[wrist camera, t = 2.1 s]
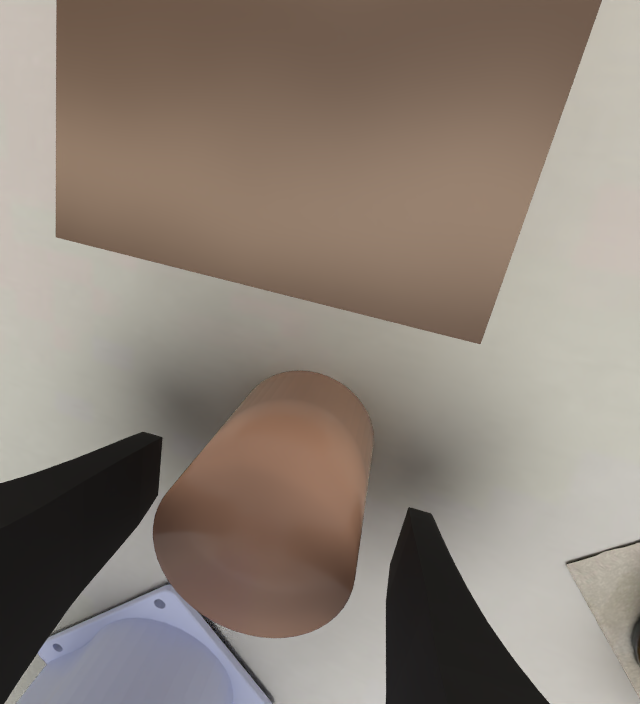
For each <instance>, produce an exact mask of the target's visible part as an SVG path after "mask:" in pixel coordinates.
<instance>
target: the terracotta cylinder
mask: <svg viewBox="0 0 640 704" xmlns="http://www.w3.org/2000/svg"><path fill="white" fill-rule="evenodd" d="M373 446H374V434H373V427H372V423H371V420H370V417H369V415H368V413H367V411H366V409H365V407H364V406H363V404H362V403H361V401H360V400H359V399H358V398H357V397H356V395H355V394H354V393H353V392H352V391H351V390H349V389H348V388H347V387H345V386H344V385H343V384H341V383H340V382H338V381H336V380H334V379H332V378H330V377H328V376H325V375H322V374H319V373H315V372H310V371H289V372H283V373H280V374H277V375H274V376H271V377H269V378H267V379H265V380H264V381H263V382H261V383H260V384H258V385H257V386H256V387H255V388H254V389H253V390H252V391H251V392H250V394H249V395H248V396H247V397H246V398H245V400H244V401H243V402H242V403H241V404H240V406H239V407H238V408H237V409H236V410H235V412H234V413H233V414H232V415H231V416H230V418H229V419H228V420H227V421H226V422H225V424H224V425H223V426H222V427H221V428H220V430H219V431H218V432H217V433H216V434H215V436H214V437H213V438H212V439H211V440H210V442H209V443H208V444H207V445H206V446H205V448H204V449H203V450H202V451H201V452H200V454H199V455H198V456H197V457H196V458H195V460H194V461H193V462H192V463H191V464H190V466H189V467H188V468H187V469H186V470H185V471H184V473H183V474H182V475H181V476H180V477H179V479H178V480H177V481H176V482H175V483H174V485H173V486H172V487H171V488H170V489H169V491H168V492H167V493H166V495H165V496H164V497H163V499H162V501H161V502H160V504H159V506H158V509H157V512H156V515H155V519H154V525H153V541H154V548H155V552H156V556H157V559H158V562H159V564H160V566H161V569H162V571H163V572H164V574H165V576H166V578H167V579H168V581H169V582H170V584H171V585H172V586H173V588H174V589H175V590H176V591H177V593H178V594H179V595H180V596H181V597H182V598H183V599H184V600H185V601H186V602H187V603H188V604H189V605H190V606H192V607H193V608H194V609H195V610H197V611H198V612H199V613H201V614H202V615H204V616H205V617H207V618H209V619H210V620H212V621H213V622H215V623H218V624H220V625H222V626H224V627H226V628H228V629H231V630H234V631H236V632H240V633H243V634H247V635H252V636H257V637H266V638H287V637H293V636H299V635H302V634H306V633H309V632H312V631H314V630H316V629H319V628H320V627H322V626H324V625H325V624H327V623H328V622H330V621H331V620H332V619H333V618H334V617H336V616H337V615H338V613H339V612H340V611H341V610H342V609H343V608H344V606H345V604H346V603H347V601H348V599H349V597H350V595H351V592H352V589H353V585H354V580H355V574H356V567H357V560H358V553H359V546H360V539H361V532H362V525H363V517H364V510H365V503H366V496H367V489H368V482H369V475H370V467H371V460H372V453H373Z"/></svg>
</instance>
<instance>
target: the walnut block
mask: <svg viewBox="0 0 640 704" xmlns="http://www.w3.org/2000/svg"><path fill="white" fill-rule="evenodd" d="M601 2H602V0H57V20H56V237H57V238H61V239H65V240H69V241H73V242H77V243H81V244H85V245H89V246H93V247H97V248H101V249H105V250H109V251H113V252H117V253H121V254H125V255H129V256H133V257H137V258H141V259H145V260H148V261H152V262H156V263H160V264H164V265H168V266H172V267H176V268H180V269H184V270H188V271H192V272H196V273H200V274H204V275H208V276H212V277H216V278H220V279H224V280H228V281H232V282H236V283H240V284H244V285H248V286H252V287H256V288H259V289H263V290H267V291H271V292H275V293H279V294H283V295H287V296H291V297H295V298H299V299H303V300H307V301H311V302H315V303H319V304H323V305H327V306H331V307H335V308H339V309H343V310H347V311H351V312H355V313H359V314H363V315H367V316H370V317H374V318H378V319H382V320H386V321H390V322H394V323H398V324H402V325H406V326H410V327H414V328H418V329H422V330H426V331H430V332H434V333H438V334H442V335H446V336H450V337H454V338H458V339H462V340H466V341H470V342H474V343H478V344H481V341H482V338H483V335H484V333H485V330H486V327H487V324H488V321H489V318H490V316H491V313H492V310H493V307H494V304H495V301H496V299H497V296H498V293H499V290H500V287H501V284H502V282H503V279H504V276H505V273H506V270H507V267H508V265H509V262H510V259H511V256H512V253H513V251H514V248H515V245H516V242H517V239H518V236H519V234H520V231H521V228H522V225H523V222H524V219H525V217H526V214H527V211H528V208H529V205H530V202H531V200H532V197H533V194H534V191H535V188H536V185H537V183H538V180H539V177H540V174H541V171H542V168H543V166H544V163H545V160H546V157H547V154H548V152H549V149H550V146H551V143H552V140H553V137H554V135H555V132H556V129H557V126H558V123H559V120H560V118H561V115H562V112H563V109H564V106H565V103H566V101H567V98H568V95H569V92H570V89H571V86H572V84H573V81H574V78H575V75H576V72H577V69H578V67H579V64H580V61H581V58H582V55H583V53H584V50H585V47H586V44H587V41H588V38H589V36H590V33H591V30H592V27H593V24H594V21H595V19H596V16H597V13H598V10H599V7H600V4H601Z"/></svg>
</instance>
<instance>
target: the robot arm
mask: <svg viewBox="0 0 640 704" xmlns="http://www.w3.org/2000/svg"><path fill="white" fill-rule="evenodd" d="M161 450H162V437H159V436H156V435H152V434H149V433H145V432H141V433H138V434H136V435H133V436H130V437H128V438H125V439H123V440H120V441H118V442H115V443H113V444H110V445H108V446H105V447H103V448H101V449H98V450H95V451H93V452H90V453H88V454H85V455H83V456H80V457H78V458H75V459H73V460H70V461H67V462H64V463H62V464H59V465H56V466H53V467H50V468H48V469H45V470H42V471H39V472H36V473H33V474H30V475H27V476H24V477H21V478H17V479H14V480H10V481H7V482H3V483H0V704H4V703H5V701H6V700H7V698H8V697H9V695H10V694H11V692H12V690H13V689H14V687H15V686H16V684H17V683H18V681H19V680H20V678H21V677H22V675H23V674H24V672H25V671H26V669H27V668H28V666H29V665H30V663H31V662H32V660H33V659H34V657H35V656H36V654H37V653H38V655H39V656H40V657H41V658H42V659H43V660H44V661H45V663H46V666H45V667H44V668H43V670H42V671H41V672H40V673H39V675H38V676H37V677H36V678H35V680H34V681H33V682H32V684H31V685H30V686H29V687H28V689H27V690H26V691H25V692H24V694H23V695H22V696H21V698H20V699H19V700H18V701H17V703H16V704H272V702H271V701H270V700H269V698H268V697H267V696H266V695H265V694H264V692H263V691H262V690H261V689H260V687H259V686H258V685H257V684H256V682H255V681H254V680H253V679H252V678H251V676H250V675H249V674H248V673H247V671H246V670H245V669H244V668H243V667H242V665H241V664H240V663H239V662H238V660H237V659H236V658H235V657H234V655H233V654H232V653H231V652H230V651H229V649H228V648H227V647H226V646H225V644H224V643H223V642H222V641H221V640H220V638H219V637H218V636H217V635H216V633H215V632H214V631H213V630H212V628H211V627H210V626H209V625H208V624H207V622H206V621H205V620H204V619H203V617H202V616H201V615H200V614H199V613H198V611H197V610H195V609H194V608H193V607H192V606H190V605H189V604H188V603H187V602H186V601H185V600H184V599H183V598H182V597H181V596H180V595H179V594H178V593H177V591H176V590H175V589H174V588H173V586H172V585H165V586H163V587H160V588H158V589H156V590H154V591H151V592H149V593H147V594H145V595H142V596H140V597H138V598H136V599H133V600H131V601H129V602H127V603H124V604H122V605H120V606H118V607H115V608H113V609H111V610H109V611H106V612H104V613H102V614H100V615H97V616H95V617H93V618H91V619H88V620H86V621H84V622H82V623H79V624H77V625H75V626H73V627H70V628H68V629H66V630H64V631H61V632H59V633H57V634H55V635H52V636H50V637H49V635H50V634H51V633H52V631H53V630H54V628H55V627H56V626H57V624H58V623H59V621H60V620H61V619H62V617H63V616H64V614H65V613H66V611H67V610H68V609H69V607H70V606H71V605H72V603H73V602H74V601H75V600H76V598H77V597H78V596H79V595H80V593H81V592H82V591H83V590H84V588H85V587H86V586H87V585H88V584H89V583H90V581H91V580H92V579H93V578H94V577H95V576H96V574H97V573H98V572H99V571H100V570H101V569H102V567H103V566H104V565H105V564H106V563H107V562H108V560H109V559H110V558H111V557H112V556H113V555H114V553H115V552H116V551H117V550H118V549H119V548H120V546H121V545H122V544H123V543H124V542H125V540H126V539H127V538H128V537H129V536H130V535H131V533H132V532H133V531H134V530H135V528H136V527H137V526H138V525H139V523H140V522H141V520H142V519H143V517H144V516H145V514H146V513H147V511H148V510H149V508H150V507H151V505H152V504H153V502H154V500H155V499H156V497H157V496H158V488H159V475H160V463H161ZM386 704H550V703H549V702H548V701H547V700H546V699H545V698H544V696H543V695H542V694H541V693H540V692H539V691H538V689H537V688H536V687H535V685H534V684H533V683H532V682H531V680H530V679H529V678H528V677H527V675H526V674H525V673H524V672H523V670H522V669H521V668H520V667H519V665H518V664H517V663H516V661H515V660H514V659H513V657H512V656H511V655H510V653H509V652H508V651H507V649H506V648H505V646H504V645H503V644H502V642H501V641H500V639H499V638H498V636H497V635H496V633H495V632H494V631H493V629H492V628H491V626H490V625H489V623H488V622H487V620H486V618H485V617H484V615H483V614H482V612H481V610H480V609H479V607H478V605H477V603H476V602H475V600H474V598H473V597H472V595H471V593H470V591H469V590H468V588H467V586H466V584H465V582H464V580H463V579H462V577H461V575H460V573H459V571H458V569H457V567H456V565H455V563H454V561H453V559H452V557H451V555H450V553H449V551H448V549H447V547H446V544H445V542H444V540H443V538H442V536H441V534H440V531H439V529H438V527H437V524H436V522H435V520H434V518H433V516H432V514H431V513H427V512H424V511H420V510H417V509H413V508H410V507H409V508H408V511H407V514H406V517H405V520H404V523H403V526H402V529H401V532H400V536H399V539H398V542H397V545H396V548H395V551H394V554H393V557H392V560H391V563H390V570H389V578H388V587H387V597H386Z"/></svg>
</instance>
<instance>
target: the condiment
mask: <svg viewBox="0 0 640 704" xmlns="http://www.w3.org/2000/svg"><path fill="white" fill-rule="evenodd" d="M566 566H567V567H568V569H569V571H570V573H571V575H572V577H573V578H574V580H575V582H576V584H577V586H578V588H579V589H580V591H581V593H582V595H583V597H584V598H585V600H586V602H587V604H588V606H589V608H590V610H591V611H592V613H593V614H594V616H595V618H596V620H597V622H598V624H599V626H600V628H601V630H602V631H603V633H604V635H605V637H606V638H607V640H608V642H609V644H610V646H611V647H612V649H613V651H614V653H615V655H616V656H617V658H618V660H619V662H620V664H621V665H622V667H623V669H624V671H625V673H626V675H627V676H628V678H629V680H630V682H631V684H632V686H633V687H634V689H635V691H636V693H637V695H638V696H639V698H640V543H636V544H634V545H630V546H627V547H623V548H618V549H613V550H609V551H605V552H603V553H601V554H599V555H597V556H594V557H590V558H587V559H584V560H580V561H577V562H573V563H570V564H566Z"/></svg>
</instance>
